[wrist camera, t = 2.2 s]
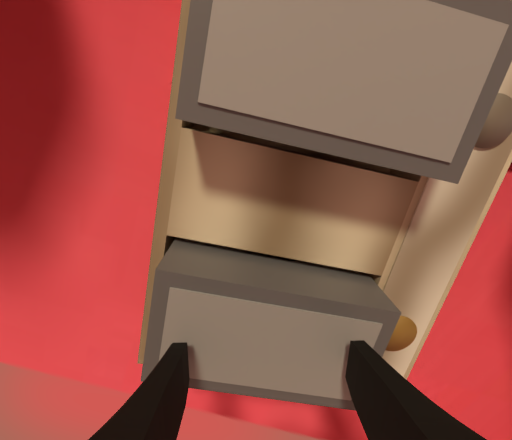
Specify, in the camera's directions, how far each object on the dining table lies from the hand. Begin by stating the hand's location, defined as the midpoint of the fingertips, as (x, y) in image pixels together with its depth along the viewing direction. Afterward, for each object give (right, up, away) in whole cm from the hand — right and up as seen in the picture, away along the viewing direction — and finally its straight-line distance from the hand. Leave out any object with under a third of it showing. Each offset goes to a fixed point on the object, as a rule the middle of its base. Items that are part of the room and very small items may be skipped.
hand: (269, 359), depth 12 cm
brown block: (0, +1, +4) cm, 4 cm away
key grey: (+2, +13, +1) cm, 13 cm away
